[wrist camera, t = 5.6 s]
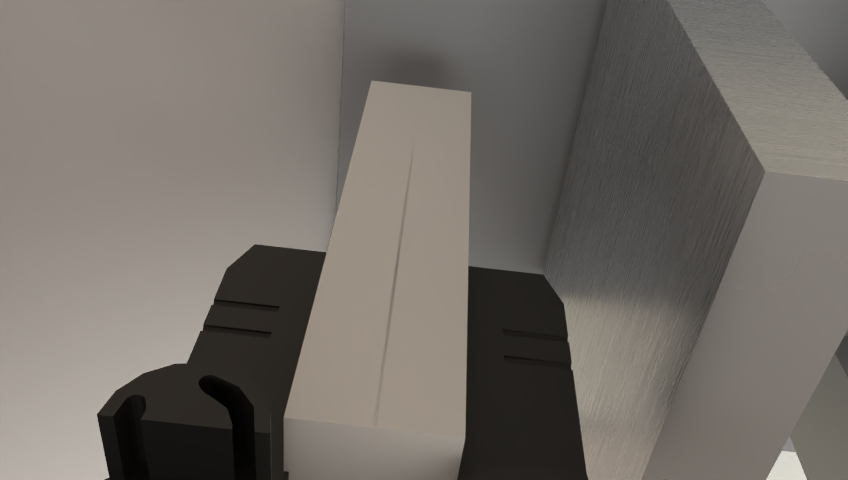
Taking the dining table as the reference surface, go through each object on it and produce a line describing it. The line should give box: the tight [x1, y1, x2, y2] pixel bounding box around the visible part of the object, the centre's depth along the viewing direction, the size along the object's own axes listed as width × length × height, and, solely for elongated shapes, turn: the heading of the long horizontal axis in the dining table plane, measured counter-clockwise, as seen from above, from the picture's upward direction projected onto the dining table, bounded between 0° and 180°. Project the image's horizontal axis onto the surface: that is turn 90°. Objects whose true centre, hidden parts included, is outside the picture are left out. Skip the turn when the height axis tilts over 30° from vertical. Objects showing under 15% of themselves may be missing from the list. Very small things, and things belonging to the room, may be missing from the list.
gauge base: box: [336, 0, 848, 480], centre depth 12 cm, size 14×14×9 cm
